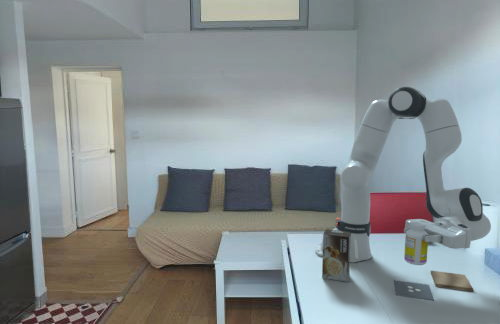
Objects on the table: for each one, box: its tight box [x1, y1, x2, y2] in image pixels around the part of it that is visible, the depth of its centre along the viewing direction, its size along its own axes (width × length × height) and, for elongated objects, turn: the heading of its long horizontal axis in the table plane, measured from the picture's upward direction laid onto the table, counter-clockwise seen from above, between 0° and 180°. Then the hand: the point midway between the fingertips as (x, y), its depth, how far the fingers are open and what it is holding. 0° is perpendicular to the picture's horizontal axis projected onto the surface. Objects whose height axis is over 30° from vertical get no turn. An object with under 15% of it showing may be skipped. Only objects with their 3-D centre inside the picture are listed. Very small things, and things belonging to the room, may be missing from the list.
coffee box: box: [321, 228, 351, 283], centre depth 129 cm, size 9×6×16 cm
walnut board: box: [430, 270, 474, 292], centre depth 127 cm, size 11×11×1 cm
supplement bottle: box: [403, 222, 429, 266], centre depth 118 cm, size 7×7×13 cm
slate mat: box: [393, 279, 435, 301], centre depth 120 cm, size 11×11×1 cm
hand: (414, 234), depth 118 cm, fingers closed on supplement bottle, 7 cm apart
